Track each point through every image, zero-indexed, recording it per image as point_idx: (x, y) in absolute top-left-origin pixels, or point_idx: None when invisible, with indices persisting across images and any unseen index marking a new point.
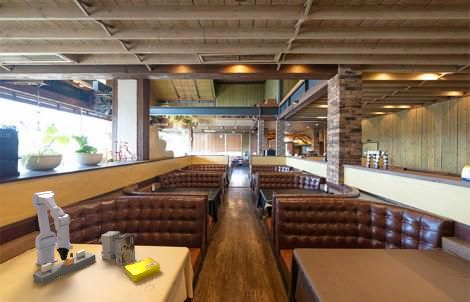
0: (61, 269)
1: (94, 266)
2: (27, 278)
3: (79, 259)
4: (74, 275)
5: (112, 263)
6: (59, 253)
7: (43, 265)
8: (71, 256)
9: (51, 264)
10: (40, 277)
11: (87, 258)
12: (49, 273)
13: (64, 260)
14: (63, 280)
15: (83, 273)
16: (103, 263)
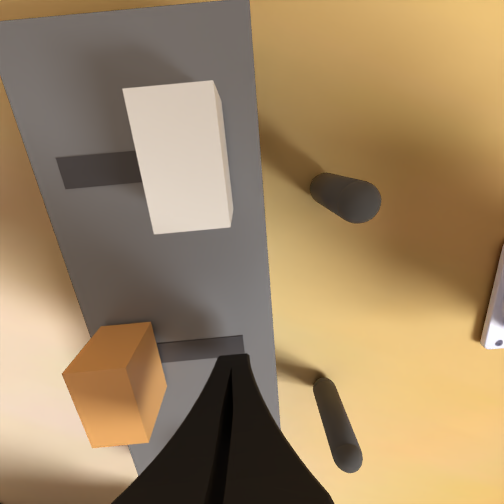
0: (67, 265)
1: (79, 427)
2: (397, 34)
3: None
4: (38, 301)
5: (22, 492)
6: (254, 434)
7: (195, 115)
8: (328, 429)
9: (154, 221)
10: (48, 20)
11: (140, 472)
12: (63, 140)
13: (118, 365)
14: (10, 216)
15: (17, 348)
16: (76, 469)
